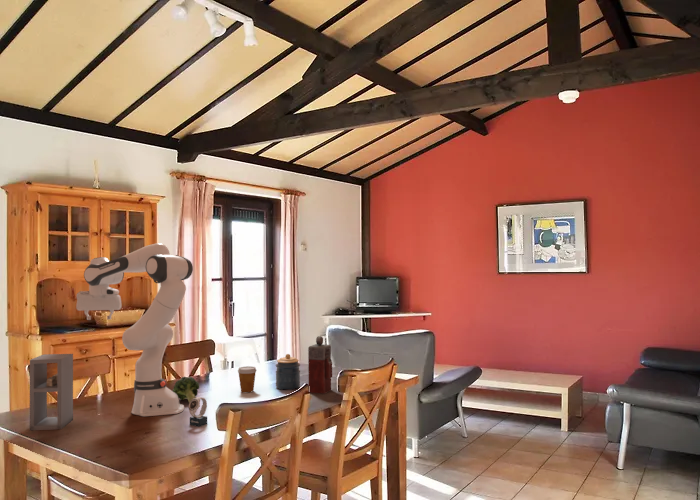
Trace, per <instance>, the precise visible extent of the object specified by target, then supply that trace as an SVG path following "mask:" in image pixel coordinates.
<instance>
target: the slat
mask: <svg viewBox="0 0 700 500" xmlns="http://www.w3.org/2000/svg"><path fill="white" fill-rule="evenodd" d="M55 384H57V373H56V374H52V377H51V376H50V377H47V386H53V385H55Z"/></svg>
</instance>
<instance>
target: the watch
mask: <svg viewBox="0 0 700 500" xmlns="http://www.w3.org/2000/svg"><path fill="white" fill-rule="evenodd" d="M195 397H196V398H194V399H193V400H191V401H190V403H189V402H188V410H189V415H190V417H189V426H194V427H198V428H199V427H202V426H205V425H208V416H206V415H205V414H206V411H207V407H208V403H207V399H206V398H205V397H200V396H195ZM201 402H202V405H201ZM200 407H201V408H200ZM199 408H200V411H199V414H196V413H197V411H198V409H199Z"/></svg>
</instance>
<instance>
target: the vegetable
mask: <svg viewBox="0 0 700 500" xmlns="http://www.w3.org/2000/svg"><path fill="white" fill-rule="evenodd" d="M199 388H200V383H199V382H198V381H197V380H196V379H195V378H194V377H193V376H189V377H188V376H187V377H186V376H182V377H181V378H180V379H178V380H176V382H175V384H174V386H173V388H172V391H173V392H174V393H176V394H177V395H178V398H179V400H181V401H184V400H186V399H187V401H188V404H189V403H190V401H191V400H193V399H194V398H196V397H198V393H199V391H198V390H199Z"/></svg>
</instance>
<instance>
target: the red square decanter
mask: <svg viewBox="0 0 700 500" xmlns="http://www.w3.org/2000/svg"><path fill="white" fill-rule="evenodd" d="M315 343H316V344H312V345H310V346H308V350H307V351H308V353H307V354H308V360H307V361H308V367H307V369H308V370H307V371H308V387H309V386H310V392H311V393H312V394H322V395H323V394H324V395H325V394H327V393H329V392H330V391H332V379H333V360H332V345H330V344H325V343H324V337H323V336H322V335H321V336H320V335H319V336H318V335H317V336H316V339H315ZM323 343H324V344H323ZM311 393H310V394H311Z"/></svg>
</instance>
